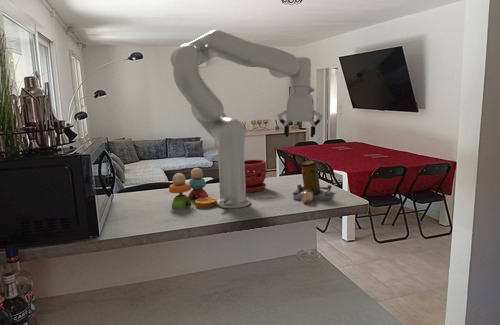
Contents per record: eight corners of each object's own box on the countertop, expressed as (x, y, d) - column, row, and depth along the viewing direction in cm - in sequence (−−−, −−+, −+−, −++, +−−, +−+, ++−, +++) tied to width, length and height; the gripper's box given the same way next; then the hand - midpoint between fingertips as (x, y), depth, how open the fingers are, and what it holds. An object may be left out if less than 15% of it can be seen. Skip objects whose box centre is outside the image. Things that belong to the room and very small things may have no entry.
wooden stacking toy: (212, 210, 135) (210, 175, 133) (166, 209, 139) (164, 175, 137) (226, 196, 153) (224, 165, 150) (185, 195, 156) (183, 165, 154)
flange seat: (328, 204, 136) (328, 193, 135) (290, 203, 140) (290, 192, 139) (331, 191, 153) (331, 181, 153) (297, 190, 157) (297, 181, 156)
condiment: (311, 187, 154) (307, 158, 151) (328, 190, 148) (324, 160, 144) (299, 193, 150) (295, 164, 146) (316, 197, 143) (312, 167, 140)
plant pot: (268, 185, 168) (267, 158, 166) (265, 193, 155) (264, 164, 153) (238, 185, 170) (237, 158, 167) (233, 193, 157) (231, 164, 155)
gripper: (324, 91, 146) (323, 136, 148) (280, 91, 151) (279, 135, 153) (322, 91, 139) (321, 138, 141) (275, 91, 144) (275, 137, 146)
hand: (299, 136), depth 147 cm, fingers open, 9 cm apart
